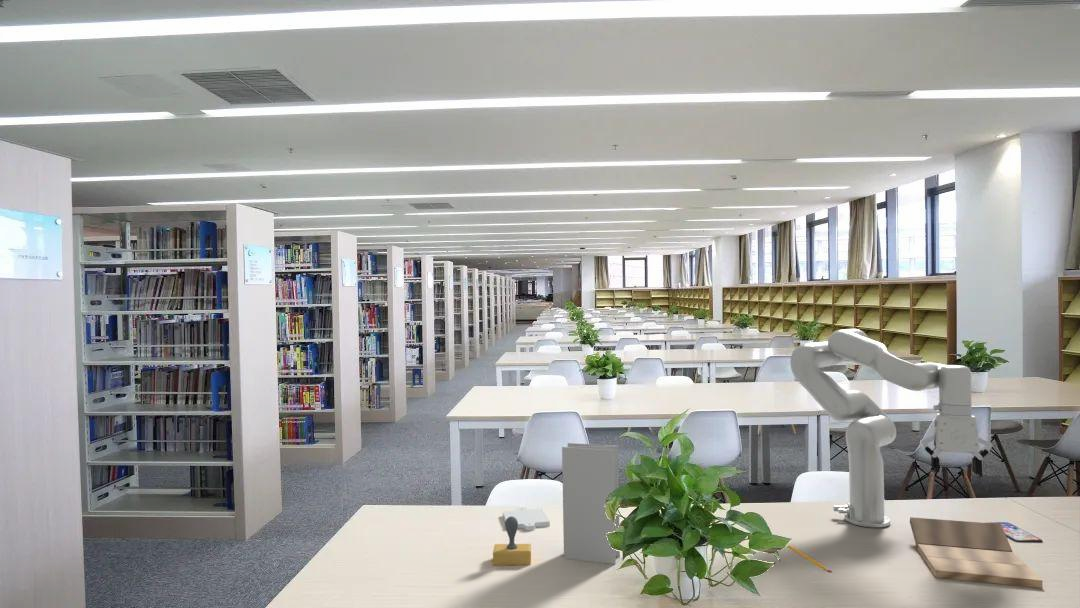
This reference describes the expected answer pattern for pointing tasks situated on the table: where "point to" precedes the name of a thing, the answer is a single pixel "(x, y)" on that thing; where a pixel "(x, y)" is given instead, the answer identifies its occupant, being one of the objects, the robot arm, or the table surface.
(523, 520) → the mounting plate
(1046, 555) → the table surface
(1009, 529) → the smartphone
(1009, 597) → the table surface
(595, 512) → the brochure
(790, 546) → the pencil
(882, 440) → the robot arm
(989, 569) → the laid floor
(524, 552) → the rubber stamp
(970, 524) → the walnut plank
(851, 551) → the table surface
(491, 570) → the table surface
